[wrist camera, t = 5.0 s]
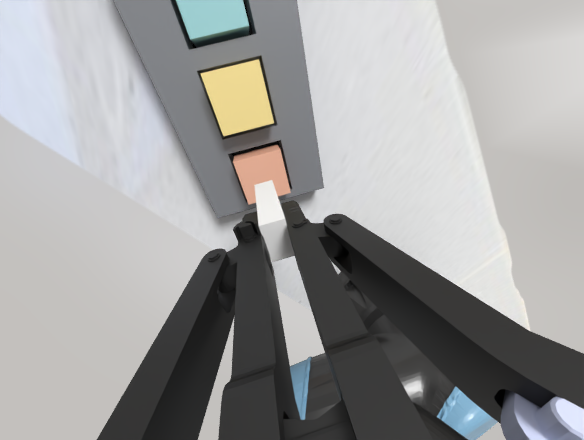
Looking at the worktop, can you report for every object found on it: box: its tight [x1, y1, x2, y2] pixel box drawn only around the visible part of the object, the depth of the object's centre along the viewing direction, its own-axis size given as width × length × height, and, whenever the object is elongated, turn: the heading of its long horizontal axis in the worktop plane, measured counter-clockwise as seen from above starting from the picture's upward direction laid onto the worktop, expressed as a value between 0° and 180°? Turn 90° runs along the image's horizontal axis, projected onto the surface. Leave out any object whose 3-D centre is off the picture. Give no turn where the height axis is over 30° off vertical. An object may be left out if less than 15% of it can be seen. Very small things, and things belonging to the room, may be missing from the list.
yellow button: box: [200, 59, 274, 136], centre depth 20 cm, size 5×5×3 cm
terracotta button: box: [233, 144, 291, 204], centre depth 24 cm, size 5×5×3 cm
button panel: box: [113, 0, 324, 218], centre depth 21 cm, size 23×14×3 cm, turn 12°
